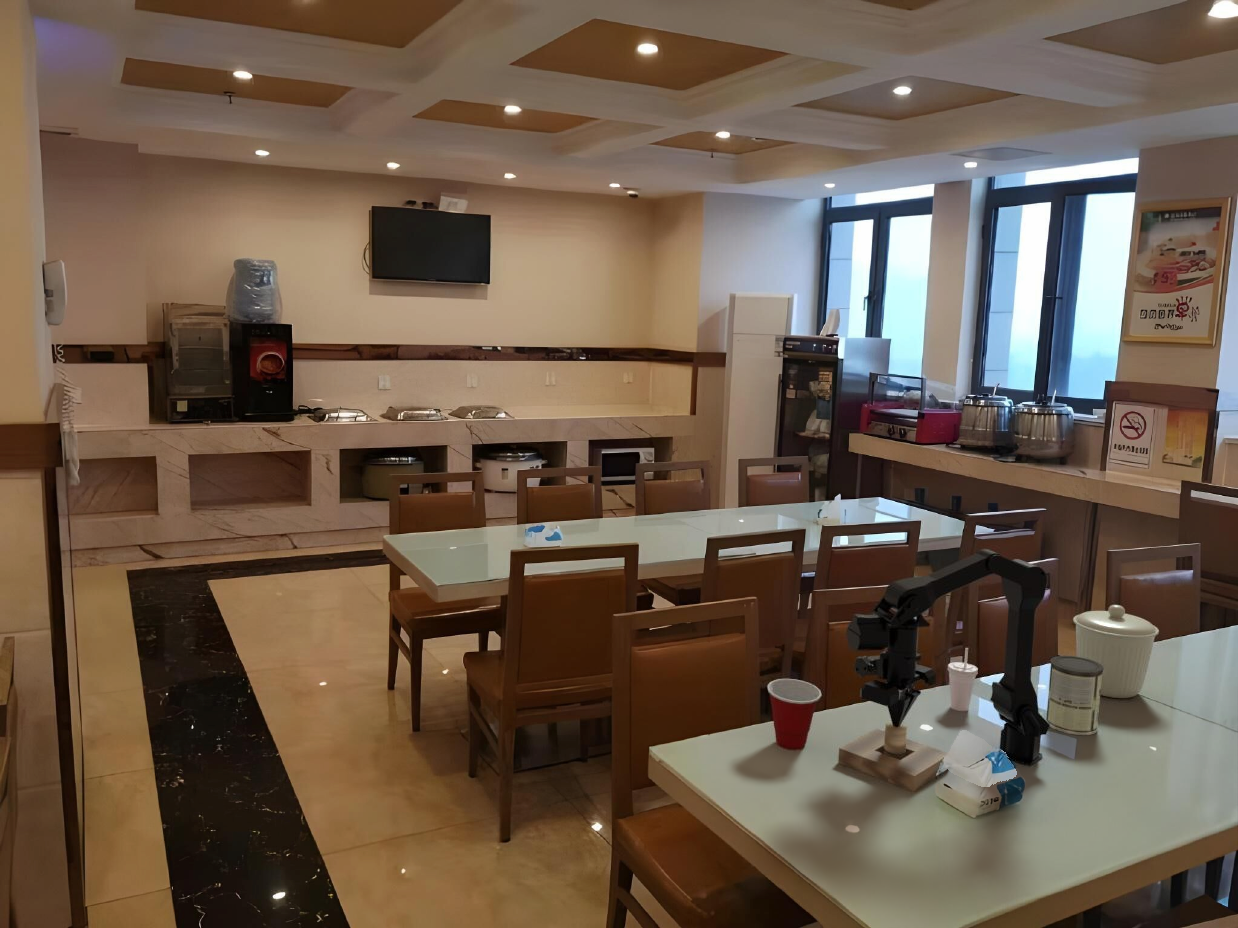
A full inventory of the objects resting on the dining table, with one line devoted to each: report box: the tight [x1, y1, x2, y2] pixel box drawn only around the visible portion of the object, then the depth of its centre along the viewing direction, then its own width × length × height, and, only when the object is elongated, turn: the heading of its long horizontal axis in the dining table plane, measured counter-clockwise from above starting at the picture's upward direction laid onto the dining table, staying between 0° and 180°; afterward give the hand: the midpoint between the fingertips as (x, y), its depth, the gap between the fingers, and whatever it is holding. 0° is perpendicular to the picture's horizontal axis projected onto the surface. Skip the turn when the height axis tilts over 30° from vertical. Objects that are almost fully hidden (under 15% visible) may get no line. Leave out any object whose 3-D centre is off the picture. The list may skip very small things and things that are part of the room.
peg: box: [883, 721, 908, 760], centre depth 186 cm, size 4×4×8 cm
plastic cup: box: [767, 678, 822, 751], centre depth 194 cm, size 11×11×12 cm
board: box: [837, 728, 948, 792], centre depth 186 cm, size 16×14×3 cm
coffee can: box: [1045, 655, 1104, 736], centre depth 207 cm, size 10×10×14 cm
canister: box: [1072, 604, 1160, 699], centre depth 228 cm, size 18×18×21 cm
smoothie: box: [947, 647, 979, 712], centre depth 216 cm, size 6×6×14 cm
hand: (896, 726), depth 185 cm, fingers closed
